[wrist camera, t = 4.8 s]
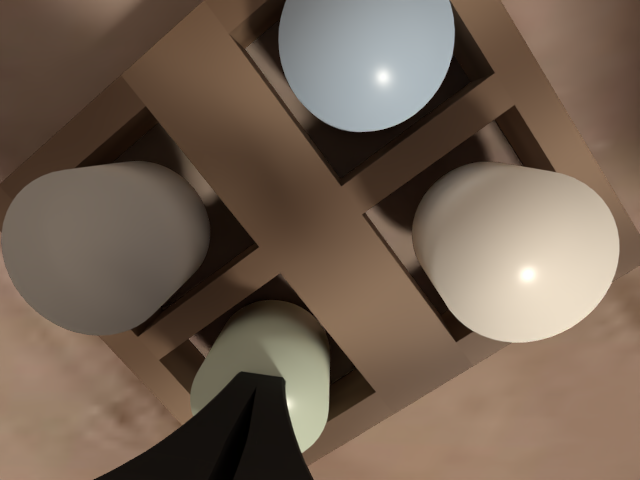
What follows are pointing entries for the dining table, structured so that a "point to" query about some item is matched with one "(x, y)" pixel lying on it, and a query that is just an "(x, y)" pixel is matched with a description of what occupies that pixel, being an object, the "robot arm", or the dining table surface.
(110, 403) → the dining table surface
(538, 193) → the button cream
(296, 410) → the button sage
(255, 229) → the board
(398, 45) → the button blue
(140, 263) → the button grey
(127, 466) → the robot arm
